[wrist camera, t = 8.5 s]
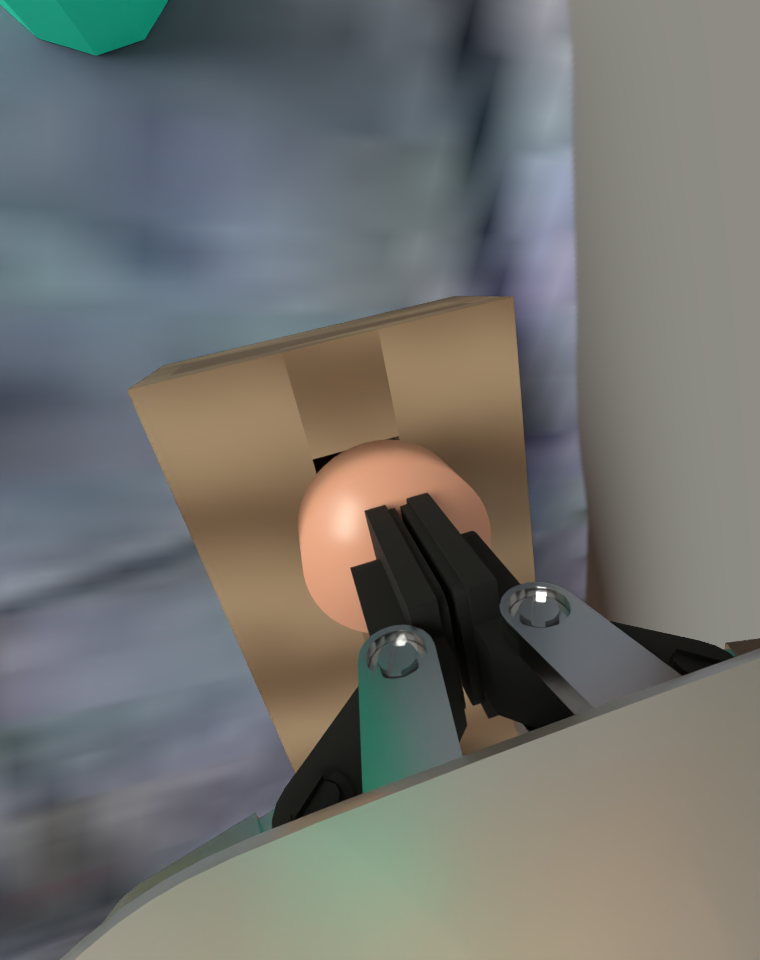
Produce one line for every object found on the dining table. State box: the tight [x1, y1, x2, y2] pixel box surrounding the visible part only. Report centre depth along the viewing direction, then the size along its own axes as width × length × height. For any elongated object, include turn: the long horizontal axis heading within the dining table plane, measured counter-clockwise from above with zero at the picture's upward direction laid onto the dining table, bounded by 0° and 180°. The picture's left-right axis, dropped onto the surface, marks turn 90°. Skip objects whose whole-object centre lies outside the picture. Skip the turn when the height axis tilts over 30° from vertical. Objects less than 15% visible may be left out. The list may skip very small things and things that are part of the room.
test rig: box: [127, 296, 535, 774], centre depth 21 cm, size 26×12×5 cm, turn 12°
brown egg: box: [298, 440, 491, 633], centre depth 15 cm, size 5×5×7 cm
